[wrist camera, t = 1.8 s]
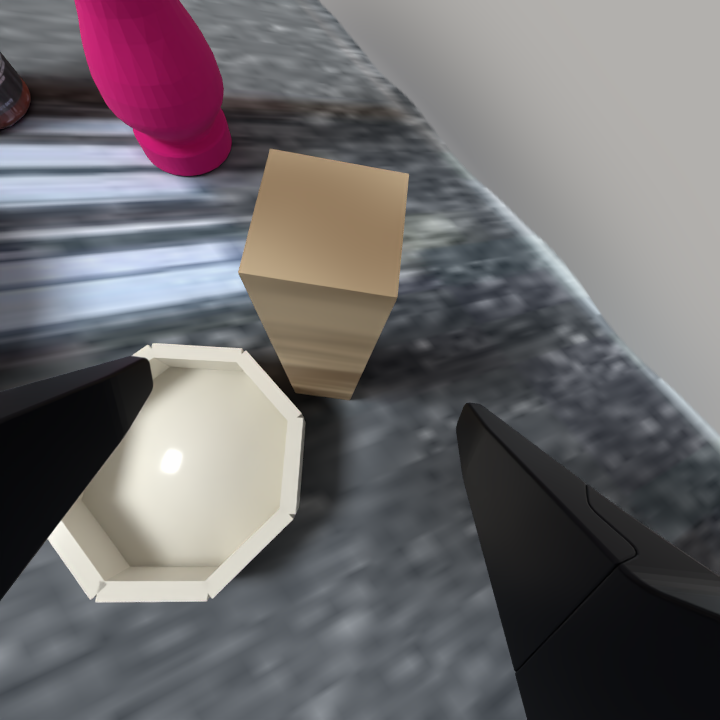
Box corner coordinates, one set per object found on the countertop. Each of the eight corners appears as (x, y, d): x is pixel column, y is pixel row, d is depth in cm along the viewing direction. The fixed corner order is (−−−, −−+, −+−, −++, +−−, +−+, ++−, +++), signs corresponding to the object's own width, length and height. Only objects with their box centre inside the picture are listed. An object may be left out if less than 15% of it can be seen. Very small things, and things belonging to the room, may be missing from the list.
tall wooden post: (349, 400, 20) (397, 297, 7) (295, 392, 20) (238, 272, 7) (356, 349, 21) (408, 174, 8) (304, 341, 21) (269, 148, 8)
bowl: (344, 464, 19) (348, 465, 17) (166, 638, 16) (139, 670, 14) (218, 321, 21) (205, 304, 19) (34, 455, 18) (-11, 455, 15)
